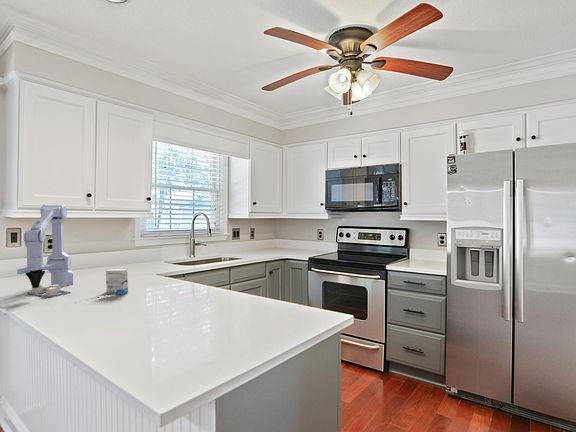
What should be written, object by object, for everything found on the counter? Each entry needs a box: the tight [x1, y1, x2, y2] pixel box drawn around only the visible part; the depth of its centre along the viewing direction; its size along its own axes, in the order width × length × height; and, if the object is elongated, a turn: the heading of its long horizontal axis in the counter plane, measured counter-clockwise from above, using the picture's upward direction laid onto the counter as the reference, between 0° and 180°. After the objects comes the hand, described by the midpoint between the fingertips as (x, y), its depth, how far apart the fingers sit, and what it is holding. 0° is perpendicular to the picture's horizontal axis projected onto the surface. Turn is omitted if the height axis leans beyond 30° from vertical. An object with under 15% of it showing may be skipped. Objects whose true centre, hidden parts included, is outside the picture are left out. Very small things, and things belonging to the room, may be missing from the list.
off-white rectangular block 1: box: [31, 284, 44, 293], centre depth 164 cm, size 3×3×4 cm
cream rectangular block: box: [49, 284, 61, 292], centre depth 166 cm, size 3×3×4 cm
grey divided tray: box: [27, 288, 71, 299], centre depth 163 cm, size 10×17×2 cm, turn 62°
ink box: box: [105, 268, 129, 296], centre depth 168 cm, size 9×5×12 cm, turn 84°
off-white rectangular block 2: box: [45, 287, 57, 296], centre depth 159 cm, size 3×3×4 cm
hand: (35, 287), depth 153 cm, fingers closed
